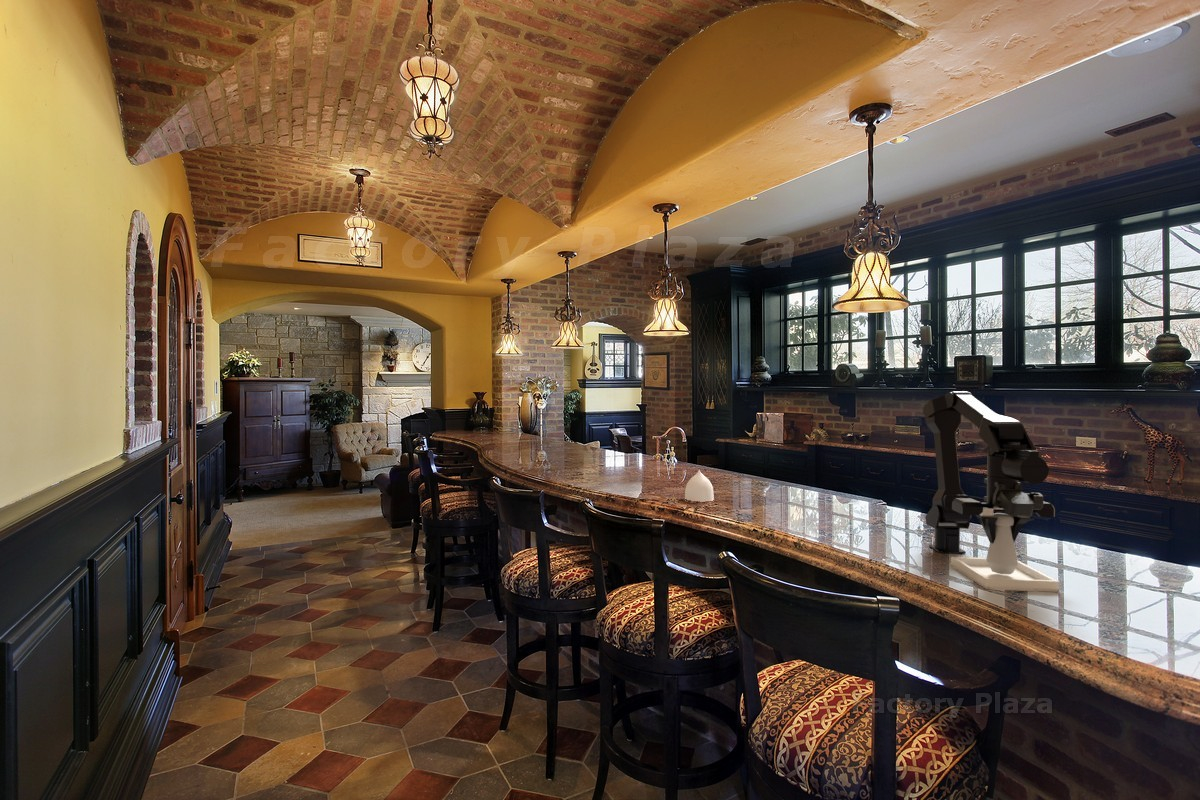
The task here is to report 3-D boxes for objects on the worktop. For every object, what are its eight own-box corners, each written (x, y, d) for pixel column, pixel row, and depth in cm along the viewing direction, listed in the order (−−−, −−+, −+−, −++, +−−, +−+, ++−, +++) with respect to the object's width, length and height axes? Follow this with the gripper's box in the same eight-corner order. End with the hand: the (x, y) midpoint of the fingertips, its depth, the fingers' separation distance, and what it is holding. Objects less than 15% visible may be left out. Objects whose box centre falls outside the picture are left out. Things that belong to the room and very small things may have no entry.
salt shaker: (987, 565, 134) (988, 509, 134) (1018, 570, 131) (1019, 513, 130) (984, 572, 130) (985, 514, 129) (1016, 577, 126) (1016, 518, 126)
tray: (951, 566, 139) (951, 556, 139) (1014, 568, 137) (1015, 558, 137) (986, 589, 123) (986, 579, 123) (1058, 592, 121) (1059, 581, 121)
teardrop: (683, 497, 227) (683, 466, 226) (711, 497, 226) (711, 466, 226) (686, 503, 216) (686, 471, 215) (716, 503, 215) (716, 470, 215)
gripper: (975, 481, 123) (974, 554, 123) (1072, 483, 120) (1071, 557, 121) (951, 473, 134) (950, 540, 134) (1039, 474, 131) (1038, 543, 132)
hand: (1001, 545), depth 130 cm, fingers closed on salt shaker, 3 cm apart
